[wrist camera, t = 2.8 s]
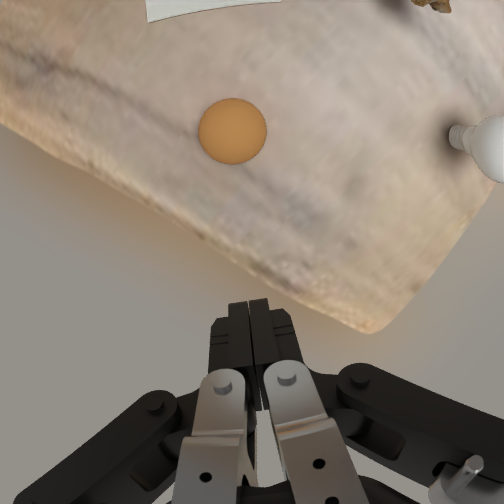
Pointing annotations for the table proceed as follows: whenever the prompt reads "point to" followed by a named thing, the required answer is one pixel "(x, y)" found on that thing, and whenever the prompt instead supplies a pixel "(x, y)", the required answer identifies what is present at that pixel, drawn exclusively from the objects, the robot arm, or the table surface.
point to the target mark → (190, 6)
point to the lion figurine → (435, 5)
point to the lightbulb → (483, 145)
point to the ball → (232, 131)
